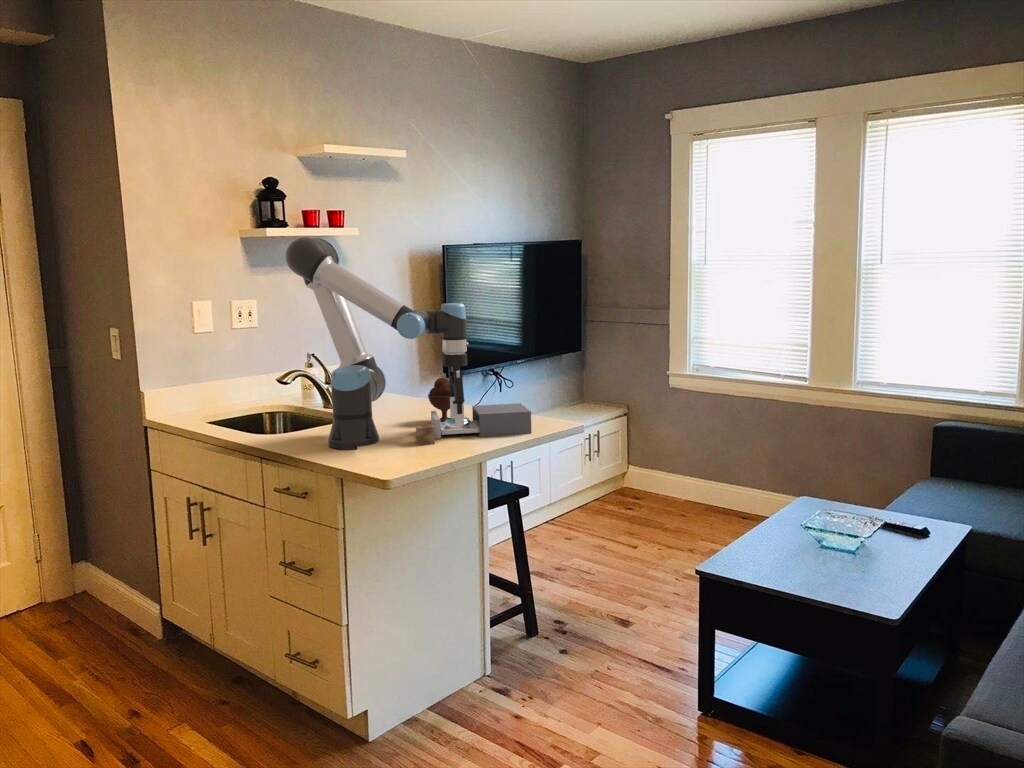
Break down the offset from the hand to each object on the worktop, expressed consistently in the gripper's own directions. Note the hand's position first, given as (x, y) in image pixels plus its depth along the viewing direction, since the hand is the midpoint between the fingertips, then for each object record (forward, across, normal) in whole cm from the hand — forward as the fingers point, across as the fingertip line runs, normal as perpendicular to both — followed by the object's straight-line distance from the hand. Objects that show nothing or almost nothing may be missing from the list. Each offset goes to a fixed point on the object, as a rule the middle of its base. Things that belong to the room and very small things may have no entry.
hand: (457, 420), depth 260 cm
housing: (+4, 0, -14) cm, 15 cm away
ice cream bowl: (+4, +20, +2) cm, 21 cm away
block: (+4, -12, +11) cm, 17 cm away
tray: (+4, 0, -2) cm, 4 cm away
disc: (+2, 0, 0) cm, 2 cm away
